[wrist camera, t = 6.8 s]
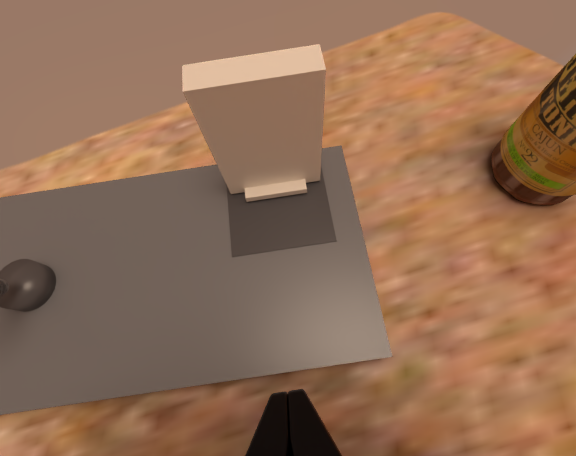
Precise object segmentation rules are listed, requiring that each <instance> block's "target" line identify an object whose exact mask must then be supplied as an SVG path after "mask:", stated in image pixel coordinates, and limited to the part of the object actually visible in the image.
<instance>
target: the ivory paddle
mask: <svg viewBox="0 0 576 456" xmlns="http://www.w3.org/2000/svg"><path fill="white" fill-rule="evenodd" d="M325 76H326V68H325V64H324V60H323V56H322V52H321V48H320V44H317V45H310V46H304V47H298V48H291V49H285V50H278V51H272V52H265V53H259V54H253V55H246V56H240V57H233V58H226V59H220V60H213V61H207V62H200V63H194V64H188V65H182V79H183V80H182V81H183V93H184V95H185V98H186V100H187V102H188V104H189V106H190V108H191V110H192V112H193V114H194V117H195V119H196V121H197V123H198V125H199V127H200V129H201V131H202V134H203V136H204V138H205V140H206V142H207V144H208V146H209V148H210V151H211V153H212V155H213V157H214V159H215V161H216V163H217V165H218V168H219V170H220V172H221V174H222V176H223V178H224V180H225V182H226V184H227V187H228V189H229V191H230V193H231V194H235V193H242V192H245V198H246V201H247V202H249V201H256V200H262V199H269V198H275V197H282V196H289V195H295V194H302V193H307V187H306V183H308V182H314V181H320V172H321V153H322V134H323V115H324V96H325Z"/></svg>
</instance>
